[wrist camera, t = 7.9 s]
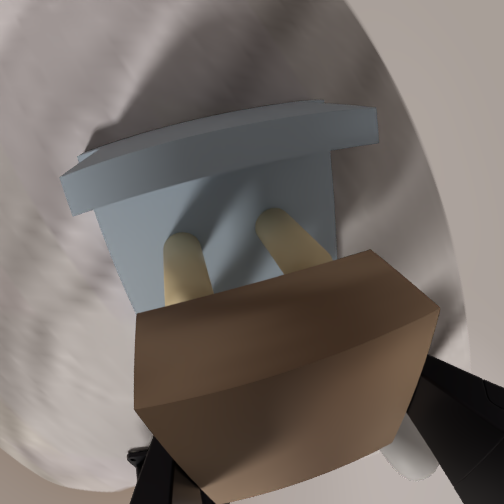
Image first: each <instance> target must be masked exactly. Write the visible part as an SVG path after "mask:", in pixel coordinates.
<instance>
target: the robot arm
mask: <svg viewBox="0 0 504 504" xmlns="http://www.w3.org/2000/svg"><path fill="white" fill-rule="evenodd" d="M406 413H407V415H408V416H409V418H410V419H411V421H412V422H413V424H414V425H415V427H416V428H417V430H418V431H419V433H420V434H421V436H422V438H423V439H424V441H425V442H426V444H427V445H428V447H429V448H430V450H431V452H432V453H433V455H434V456H435V458H436V459H437V461H438V463H439V464H440V465H441V467H442V469H443V471H444V472H445V474H446V475H447V477H448V479H449V480H450V482H451V483H452V485H453V486H454V489H455V490H456V492H457V493H458V495H459V496H460V498H461V500H462V502H463V503H464V504H504V388H503V387H501V386H498V385H496V384H493V383H491V382H489V381H487V380H483V379H482V378H480V377H477V376H475V375H473V374H471V373H468V372H466V371H464V370H462V369H459V368H457V367H455V366H453V365H451V364H448V363H446V362H444V361H442V360H439V359H437V358H435V357H433V356H431V355H429V354H427V357H426V360H425V363H424V366H423V369H422V372H421V375H420V377H419V380H418V383H417V386H416V388H415V391H414V393H413V396H412V399H411V401H410V404H409V406H408V408H407V411H406ZM127 460H128V461H129V462H130V463H131V464H132V465H133V466H134V467H136V474H137V484H136V487H135V489H134V492H133V495H132V498H131V501H130V504H216V503H215V502H214V501H213V500H212V499H211V498H210V497H209V496H208V495H207V494H206V493H205V492H204V491H203V490H202V489H201V488H200V487H199V486H198V485H197V484H196V483H195V482H194V481H193V480H192V479H191V478H190V477H189V476H188V475H187V474H186V472H185V471H184V470H183V469H182V468H181V467H180V466H179V465H178V464H177V462H176V461H175V460H174V459H173V458H172V457H171V456H170V454H169V453H168V452H167V451H166V450H165V448H164V447H163V446H162V445H161V444H160V442H159V441H158V440H157V439H156V437H155V436H153V439H152V441H151V444H150V447H149V450H148V451H145V452H138V453H130V454H128V455H127ZM224 504H230V502H229V503H224Z"/></svg>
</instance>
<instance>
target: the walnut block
mask: <svg viewBox="0 0 504 504" xmlns="http://www.w3.org/2000/svg"><path fill="white" fill-rule="evenodd" d="M440 309H441V308H440V307H439V306H438V305H436V304H435V303H434V302H433V301H432V300H431V299H430V298H428V297H427V296H426V295H425V294H424V293H423V292H422V291H420V290H419V289H418V288H417V287H416V286H414V285H413V284H412V283H411V282H410V281H409V280H407V279H406V278H405V277H404V276H403V275H401V274H400V273H399V272H398V271H397V270H395V269H394V268H393V267H392V266H391V265H389V264H388V263H387V262H386V261H384V260H383V259H382V258H381V257H379V256H378V255H377V254H376V253H375V252H373V251H372V250H371V249H370V250H367V251H364V252H360V253H357V254H354V255H350V256H347V257H344V258H340V259H337V260H333V261H330V262H327V263H323V264H320V265H316V266H313V267H309V268H306V269H302V270H299V271H295V272H292V273H288V274H285V275H281V276H278V277H274V278H270V279H267V280H263V281H260V282H256V283H252V284H249V285H245V286H241V287H238V288H234V289H230V290H226V291H223V292H219V293H215V294H211V295H207V296H204V297H200V298H196V299H192V300H188V301H184V302H180V303H177V304H173V305H169V306H165V307H161V308H157V309H153V310H149V311H145V312H140V313H137V316H136V333H135V358H134V410H135V412H136V413H137V414H138V416H139V417H140V418H141V420H142V421H143V422H144V423H145V425H146V426H147V427H148V429H149V430H150V431H151V432H152V434H153V435H154V436H155V437H156V439H157V440H158V441H159V442H160V444H161V445H162V446H163V447H164V448H165V450H166V451H167V452H168V453H169V454H170V456H171V457H172V458H173V459H174V460H175V461H176V462H177V464H178V465H179V466H180V467H181V468H182V469H183V470H184V471H185V472H186V474H187V475H188V476H189V477H190V478H191V479H192V480H193V481H194V482H195V483H196V484H197V485H198V486H199V487H200V488H201V489H202V490H203V491H204V492H205V493H206V494H207V495H208V496H209V497H210V498H211V499H212V500H213V501H214V502H215V503H216V504H224V503H229V502H233V501H237V500H242V499H246V498H250V497H254V496H257V495H261V494H265V493H268V492H272V491H275V490H279V489H282V488H285V487H288V486H291V485H294V484H297V483H300V482H303V481H306V480H309V479H312V478H314V477H317V476H320V475H322V474H325V473H327V472H330V471H332V470H335V469H337V468H340V467H342V466H345V465H347V464H349V463H351V462H354V461H356V460H358V459H360V458H362V457H365V456H367V455H369V454H371V453H373V452H375V451H377V450H379V449H381V448H383V447H385V446H387V445H389V444H391V443H392V442H393V440H394V438H395V436H396V434H397V432H398V429H399V427H400V425H401V423H402V420H403V418H404V416H405V413H406V411H407V408H408V406H409V404H410V401H411V399H412V396H413V393H414V391H415V388H416V386H417V383H418V380H419V377H420V375H421V372H422V369H423V366H424V363H425V360H426V357H427V354H428V351H429V348H430V344H431V341H432V338H433V334H434V331H435V327H436V324H437V320H438V316H439V313H440Z"/></svg>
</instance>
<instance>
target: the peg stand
mask: <svg viewBox="0 0 504 504" xmlns="http://www.w3.org/2000/svg"><path fill="white" fill-rule="evenodd" d="M377 143H379V135H378V122H377V110H376V107H367V106H356V105H344V104H329V103H324V100H305V101H297V102H289V103H282V104H275V105H268V106H262V107H256V108H250V109H244V110H239V111H234V112H228V113H223V114H218V115H214V116H209V117H204V118H200V119H196V120H191V121H187V122H183V123H179V124H175V125H171V126H167V127H164V128H160V129H156V130H153V131H149V132H145V133H142V134H139V135H135V136H132V137H129V138H125V139H122V140H119V141H116V142H113V143H110V144H107V145H104V146H101V147H98V148H95V149H92V150H89V151H87V152H84V153H82V154H80V155H79V156H77V157H78V161H79V163H78V164H77V165H76V166H74V167H73V168H72V169H70V170H69V171H67V172H66V173H65V174H63V175H62V176H61V177H60V180H61V183H62V187H63V190H64V193H65V196H66V199H67V201H68V204H69V207H70V210H71V213H72V216H76V215H79V214H82V213H85V212H88V211H91V210H94V211H95V214H96V217H97V220H98V223H99V226H100V228H101V231H102V234H103V237H104V239H105V242H106V244H107V247H108V250H109V252H110V255H111V257H112V260H113V262H114V265H115V267H116V270H117V272H118V274H119V277H120V279H121V281H122V284H123V286H124V288H125V291H126V293H127V295H128V297H129V300H130V302H131V304H132V306H133V308H134V311H135V313H136V315H137V313H140V312H145V311H149V310H153V309H157V308H161V307H165V306H169V305H173V304H177V303H180V302H184V301H188V300H192V299H196V298H200V297H204V296H207V295H211V294H215V293H219V292H223V291H226V290H230V289H234V288H238V287H241V286H245V285H249V284H252V283H256V282H260V281H263V280H267V279H270V278H274V277H278V276H281V275H285V274H288V273H292V272H295V271H299V270H302V269H306V268H309V267H313V266H316V265H320V264H323V263H327V262H330V261H333V260H337V244H336V223H335V206H334V192H333V179H332V167H331V156H330V151H332V150H338V149H344V148H350V147H357V146H363V145H370V144H377Z"/></svg>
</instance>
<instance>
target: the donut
mask: <svg viewBox="0 0 504 504" xmlns="http://www.w3.org/2000/svg"><path fill="white" fill-rule="evenodd" d="M379 450H380V451H381V453H382V454H383V456H384V457H385V458H386V460H387V461H388V462H389V463H390V465H391V466H392V467H393V468H394V469H395V471H397V472H398V474H399V475H401V476H402V477H404V478H406V479H408V480H410V481H420V480H424V479H426V478H428V477H430V476H431V474H433V473H434V472H435V471H436V469H437V467H438V466H439V463H438V461H437V459H436V458H435V456H434V455H433V453H432V452H431V450H430V448H429V447H428V445H427V444H426V442H425V441H424V439H423V438H422V436H421V434H420V433H419V431H418V430H417V428H416V427H415V425H414V424H413V422H412V421H411V419H410V418H409V416H408V415H407V413H405V416H404V418H403V420H402V423H401V425H400V427H399V429H398V432H397V434H396V436H395V438H394V440H393V442H392V443H391V444H389V445H387V446H385V447H383V448H381V449H379Z"/></svg>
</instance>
